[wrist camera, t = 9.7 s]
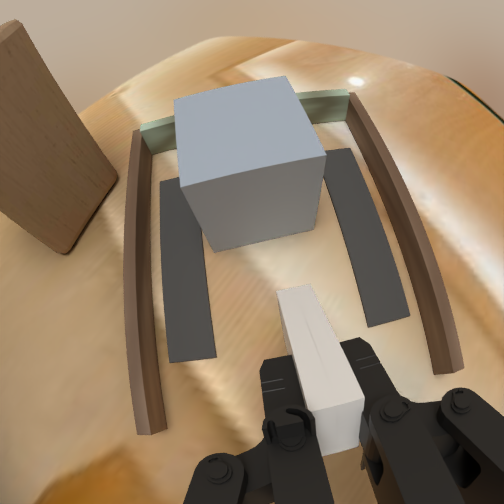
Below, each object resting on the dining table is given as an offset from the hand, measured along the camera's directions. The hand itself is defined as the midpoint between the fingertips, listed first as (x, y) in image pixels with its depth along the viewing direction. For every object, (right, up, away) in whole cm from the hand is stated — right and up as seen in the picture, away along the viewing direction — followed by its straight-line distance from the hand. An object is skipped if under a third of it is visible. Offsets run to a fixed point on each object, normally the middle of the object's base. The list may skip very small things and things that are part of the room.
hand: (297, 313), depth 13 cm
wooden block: (-21, +8, +15) cm, 27 cm away
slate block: (-2, +7, +12) cm, 14 cm away
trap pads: (0, +4, +10) cm, 11 cm away
